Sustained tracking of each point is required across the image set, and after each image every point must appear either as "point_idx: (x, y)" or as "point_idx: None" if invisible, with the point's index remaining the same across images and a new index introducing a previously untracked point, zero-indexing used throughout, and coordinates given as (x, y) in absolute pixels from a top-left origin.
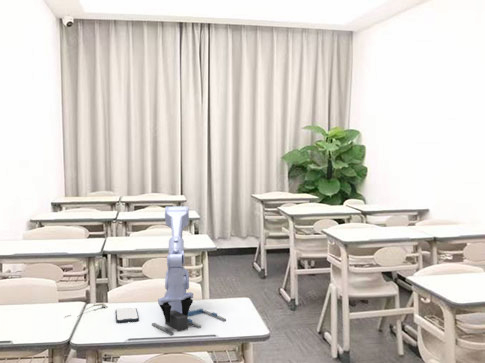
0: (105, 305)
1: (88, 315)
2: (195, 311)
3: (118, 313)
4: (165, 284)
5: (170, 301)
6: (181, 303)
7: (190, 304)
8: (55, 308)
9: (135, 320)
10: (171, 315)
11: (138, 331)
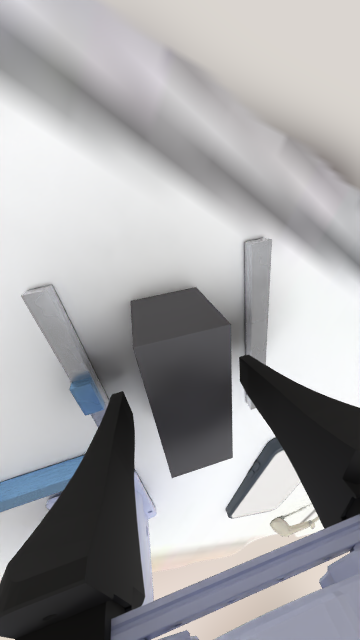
0: (282, 525)
1: None
2: (19, 493)
3: (292, 486)
4: None
5: (340, 542)
6: (137, 535)
7: (54, 518)
8: None
9: None
10: (230, 405)
11: (330, 355)
